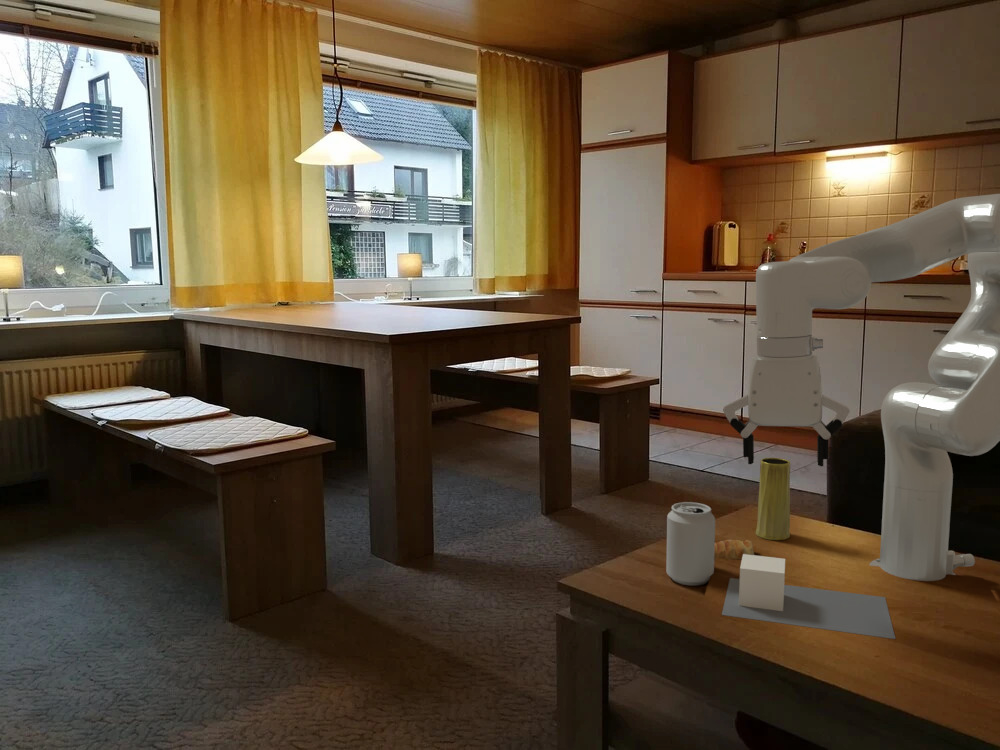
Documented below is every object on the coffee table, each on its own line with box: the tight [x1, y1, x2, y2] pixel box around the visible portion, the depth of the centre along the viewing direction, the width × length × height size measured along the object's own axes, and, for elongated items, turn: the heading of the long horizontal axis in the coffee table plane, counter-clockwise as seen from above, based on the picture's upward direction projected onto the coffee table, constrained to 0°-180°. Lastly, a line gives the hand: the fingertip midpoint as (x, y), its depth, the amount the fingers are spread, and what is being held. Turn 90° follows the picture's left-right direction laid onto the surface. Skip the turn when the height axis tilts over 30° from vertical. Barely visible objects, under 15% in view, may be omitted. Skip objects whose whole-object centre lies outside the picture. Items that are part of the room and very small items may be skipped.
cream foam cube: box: [739, 554, 786, 611], centre depth 115 cm, size 6×6×6 cm
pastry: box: [714, 539, 755, 563], centre depth 135 cm, size 9×7×4 cm
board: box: [721, 577, 896, 640], centre depth 114 cm, size 22×14×2 cm, turn 69°
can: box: [665, 501, 716, 586], centre depth 127 cm, size 8×8×12 cm
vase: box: [755, 457, 791, 541], centre depth 147 cm, size 6×6×14 cm
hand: (785, 462), depth 116 cm, fingers open, 9 cm apart
